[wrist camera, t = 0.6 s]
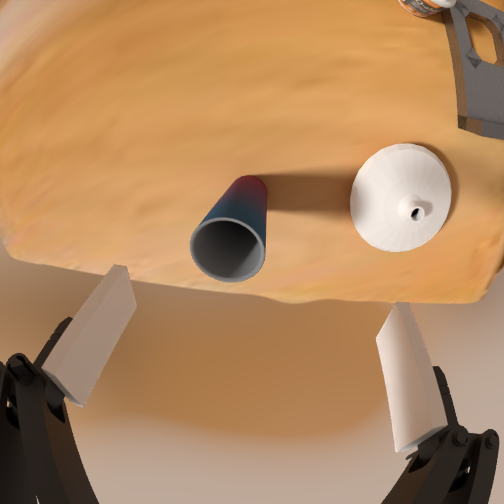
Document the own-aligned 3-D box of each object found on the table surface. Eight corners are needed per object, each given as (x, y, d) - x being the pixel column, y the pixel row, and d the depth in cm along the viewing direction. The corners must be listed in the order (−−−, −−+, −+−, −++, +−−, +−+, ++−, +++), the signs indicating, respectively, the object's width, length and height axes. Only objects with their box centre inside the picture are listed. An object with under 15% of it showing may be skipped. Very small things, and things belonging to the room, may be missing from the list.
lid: (451, 214, 34) (474, 236, 28) (370, 257, 40) (382, 286, 34) (420, 121, 27) (446, 129, 22) (324, 171, 34) (333, 189, 28)
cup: (274, 169, 34) (266, 219, 22) (272, 216, 38) (264, 285, 26) (223, 168, 35) (185, 215, 22) (225, 214, 39) (194, 279, 26)
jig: (434, -10, 15) (454, -20, 10) (495, 13, 12) (516, 10, 7) (458, 127, 26) (482, 136, 21) (511, 136, 24) (534, 146, 19)
